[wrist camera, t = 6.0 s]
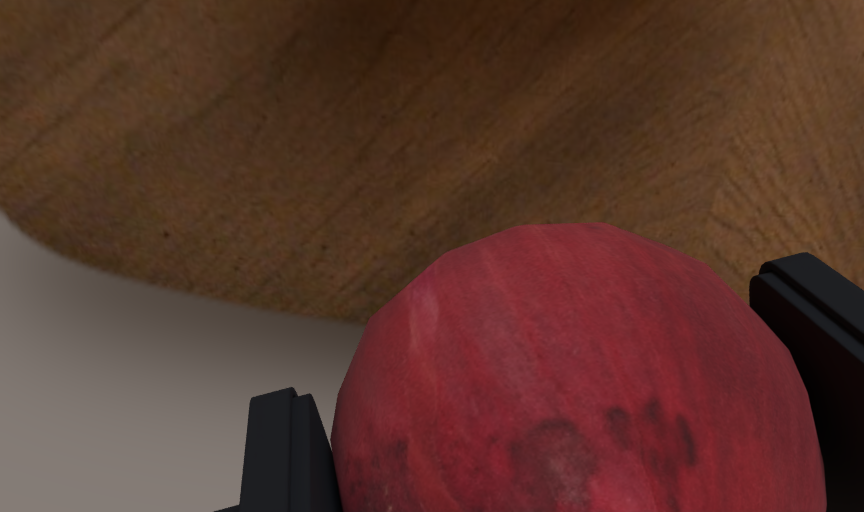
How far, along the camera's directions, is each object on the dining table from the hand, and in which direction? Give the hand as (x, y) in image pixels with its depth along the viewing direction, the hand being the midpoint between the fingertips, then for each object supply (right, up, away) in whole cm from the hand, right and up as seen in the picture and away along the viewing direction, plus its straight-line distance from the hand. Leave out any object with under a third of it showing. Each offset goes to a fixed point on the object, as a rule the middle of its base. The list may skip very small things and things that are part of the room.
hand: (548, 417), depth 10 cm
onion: (-1, +1, +3) cm, 3 cm away
